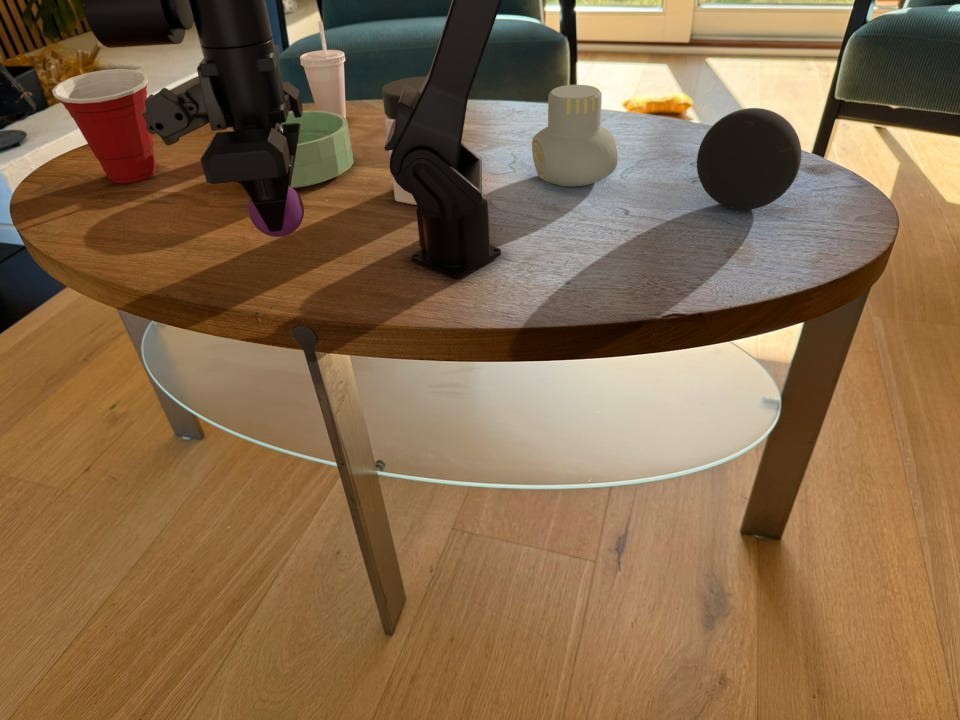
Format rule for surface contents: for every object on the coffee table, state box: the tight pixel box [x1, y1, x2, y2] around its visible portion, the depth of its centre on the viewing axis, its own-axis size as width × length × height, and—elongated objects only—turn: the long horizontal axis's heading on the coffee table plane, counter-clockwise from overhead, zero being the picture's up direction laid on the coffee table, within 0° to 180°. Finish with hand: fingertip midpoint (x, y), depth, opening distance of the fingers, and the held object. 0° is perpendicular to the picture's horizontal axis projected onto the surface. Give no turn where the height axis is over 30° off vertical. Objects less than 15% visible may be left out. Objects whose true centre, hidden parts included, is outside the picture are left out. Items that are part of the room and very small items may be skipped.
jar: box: [381, 75, 427, 206], centre depth 79 cm, size 9×8×12 cm
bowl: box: [284, 110, 355, 189], centre depth 89 cm, size 14×14×6 cm
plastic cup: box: [51, 68, 157, 184], centre depth 89 cm, size 11×11×12 cm
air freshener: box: [531, 84, 619, 188], centre depth 81 cm, size 11×8×10 cm
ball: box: [247, 186, 305, 238], centre depth 66 cm, size 5×5×5 cm
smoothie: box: [299, 20, 347, 119], centre depth 102 cm, size 6×6×14 cm
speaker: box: [696, 107, 802, 211], centre depth 73 cm, size 10×10×10 cm
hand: (278, 219), depth 67 cm, fingers closed on ball, 5 cm apart
